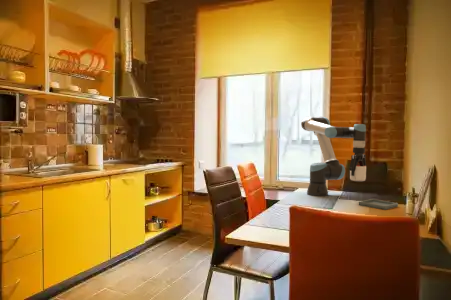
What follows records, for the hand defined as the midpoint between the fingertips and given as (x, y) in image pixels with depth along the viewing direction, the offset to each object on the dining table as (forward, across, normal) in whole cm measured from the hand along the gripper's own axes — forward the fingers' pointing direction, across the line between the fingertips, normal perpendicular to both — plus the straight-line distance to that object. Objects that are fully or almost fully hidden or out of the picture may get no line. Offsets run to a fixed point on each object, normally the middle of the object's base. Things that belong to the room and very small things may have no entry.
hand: (357, 179), depth 223 cm
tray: (+14, -5, -18) cm, 23 cm away
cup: (+1, 0, 0) cm, 1 cm away
